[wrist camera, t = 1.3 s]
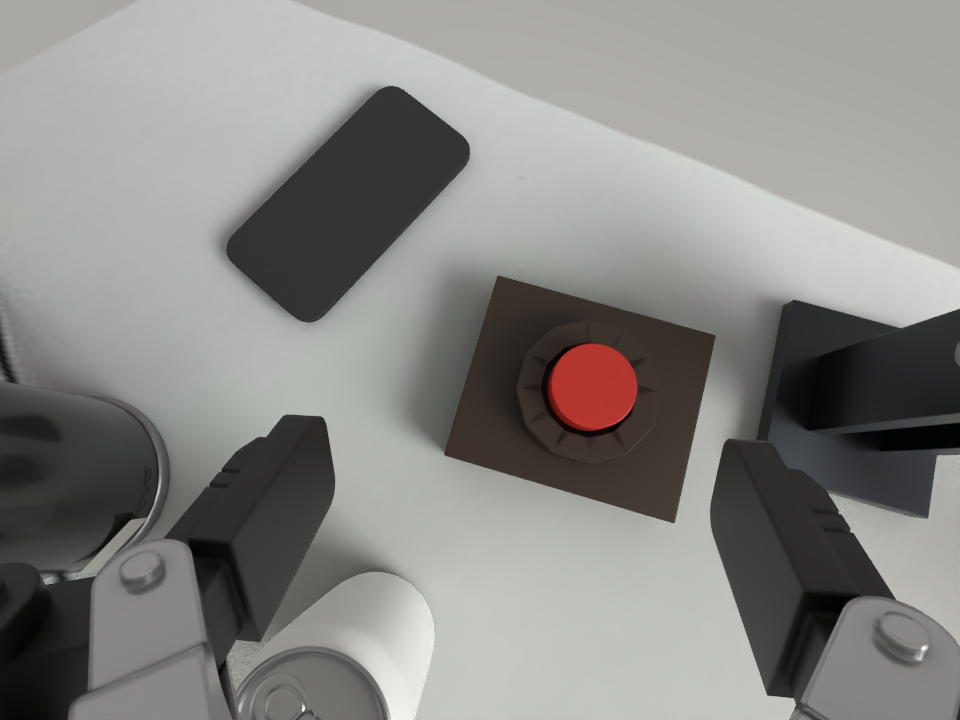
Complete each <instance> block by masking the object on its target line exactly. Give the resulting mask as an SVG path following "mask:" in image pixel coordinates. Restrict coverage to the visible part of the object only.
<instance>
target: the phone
mask: <svg viewBox="0 0 960 720" xmlns="http://www.w3.org/2000/svg"><path fill="white" fill-rule="evenodd" d="M469 157H470V148H469V144H468V142H467V140H466V139H465V138H464V137H463V136H462V135H461V134H460V133H458V132H457V131H456V130H454V129H453V128H452V127H451V126H449V125H448V124H447V123H446V122H444V121H443V120H442V119H440V118H439V117H438V116H437V115H435V114H434V113H433V112H431V111H430V110H429V109H428V108H426V107H425V106H424V105H422V104H421V103H420V102H418V101H417V100H416V99H415V98H413V97H412V96H411V95H409V94H408V93H407V92H405V91H404V90H402V89H401V88H398V87H395V86H387V87H384V88H382V89H380V90H379V91H377V92H376V93H375V94H374V95H373V96H372V97H371V98H370V99H369V100H368V101H367V102H366V103H365V104H364V105H363V106H362V107H361V108H360V109H359V110H358V111H357V112H356V113H355V114H354V115H353V116H352V117H351V118H350V119H349V120H348V121H347V122H346V123H345V124H344V125H343V126H342V127H341V128H340V129H339V130H338V131H337V132H336V133H335V134H334V135H333V136H332V137H331V138H330V139H329V140H328V141H327V142H326V143H325V144H324V145H323V146H322V147H321V148H320V149H319V150H318V151H317V152H316V153H315V154H314V155H313V156H312V157H311V158H310V159H309V160H308V161H307V162H306V163H305V164H304V165H303V166H302V167H301V168H300V169H299V170H298V171H297V172H296V173H295V174H294V175H293V176H292V177H291V178H290V179H288V180H287V181H286V182H285V183H284V184H283V185H282V186H281V187H280V188H279V189H278V190H277V191H276V192H275V193H274V194H273V195H272V196H271V197H270V198H269V199H268V200H267V201H266V202H265V203H264V204H263V205H262V206H261V207H260V208H259V209H258V210H257V211H256V212H255V213H254V214H253V215H252V216H251V217H250V218H249V219H248V220H247V221H246V222H245V223H244V224H243V225H242V226H241V227H240V228H239V229H238V230H237V231H236V232H235V233H234V234H233V236H232V237H231V238H230V240H229V241H228V244H227V248H226V251H227V255H228V257H229V259H230V260H231V261H232V263H234V264H235V265H236V266H237V267H238V268H239V269H240V270H241V271H242V272H244V273H245V274H246V275H247V276H248V277H249V278H250V279H252V280H253V281H254V282H255V283H256V284H257V285H258V286H259V287H261V288H262V289H263V290H264V291H265V292H266V293H267V294H269V295H270V296H271V297H272V298H273V299H274V300H275V301H277V302H278V303H279V304H280V305H281V306H282V307H284V308H285V309H286V310H287V311H288V312H289V313H291V314H292V315H293V316H294V317H295V318H297V319H299V320H300V321H303V322H314V321H317V320H319V319H320V318H322V317H323V316H324V315H325V314H326V313H327V312H328V311H329V310H330V309H331V308H332V307H333V306H334V305H335V304H336V303H337V302H338V301H339V299H340V298H341V297H342V296H343V295H344V294H345V293H346V292H347V291H348V290H349V289H350V288H351V287H352V286H353V285H354V284H355V283H356V281H357V280H358V279H359V278H360V277H361V276H362V275H363V274H364V273H365V272H366V271H367V270H368V269H369V268H370V267H371V266H372V265H373V263H374V262H375V261H376V260H377V259H378V258H379V257H380V256H381V255H382V254H383V253H384V252H385V251H386V250H387V249H388V248H389V246H390V245H391V244H392V243H393V242H394V241H395V240H396V239H397V238H398V237H399V236H400V235H401V234H402V233H403V232H404V231H405V230H406V228H407V227H408V226H409V225H410V224H411V223H412V222H413V221H414V220H415V219H416V218H417V217H418V216H419V215H420V214H421V213H422V212H423V210H424V209H425V208H426V207H427V206H428V205H429V204H430V203H431V202H432V201H433V200H434V199H435V198H436V197H437V196H438V195H439V194H440V192H441V191H442V190H443V189H444V188H445V187H446V186H447V185H448V184H449V183H450V182H451V181H452V180H453V179H454V178H455V177H456V175H457V174H458V173H459V172H460V171H461V170H462V169H463V168H464V167H465V165H466V164H467V162H468V160H469Z"/></svg>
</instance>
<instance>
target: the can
mask: <svg viewBox="0 0 960 720" xmlns="http://www.w3.org/2000/svg"><path fill="white" fill-rule="evenodd" d="M434 639H435V632H434V623H433V618H432V615H431V612H430V609H429V607H428V605H427V603H426V601H425V599H424V598H423V596H422V595H421V594H420V592H419V591H418V590H417V589H416V588H415V587H414V586H413V585H411V584H410V583H409V582H407V581H406V580H404V579H402V578H400V577H398V576H396V575H393V574H389V573H384V572H368V573H363V574H359V575H356V576H353V577H351V578H349V579H347V580H345V581H343V582H341V583H340V584H339V585H337V586H336V587H334V588H333V589H332V590H331V591H329V592H328V593H327V594H326V595H324V596H323V597H322V598H321V599H319V600H318V601H317V602H316V603H314V604H313V605H312V606H311V607H309V608H308V609H307V610H306V611H304V612H303V613H302V614H301V615H299V616H298V617H297V618H296V619H295V620H293V621H292V622H291V623H290V624H289V625H287V626H286V627H285V628H284V629H282V630H281V631H280V632H279V633H278V634H277V635H275V636H274V637H273V638H272V639H271V640H270V641H269V642H267V643H266V644H265V645H264V646H263V647H262V648H261V649H260V650H259V652H258V653H257V654H256V655H255V656H254V658H253V659H252V660H251V661H250V663H249V664H248V666H247V667H246V669H245V670H244V672H243V674H242V676H241V678H240V680H239V682H238V684H237V687H236V690H235V694H236V699H237V704H238V708H239V713H240V718H241V720H415V716H416V713H417V709H418V706H419V702H420V698H421V695H422V691H423V688H424V684H425V680H426V677H427V673H428V669H429V665H430V662H431V658H432V653H433V648H434Z"/></svg>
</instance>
